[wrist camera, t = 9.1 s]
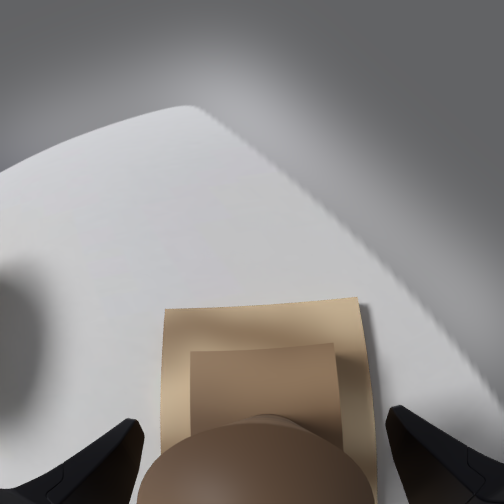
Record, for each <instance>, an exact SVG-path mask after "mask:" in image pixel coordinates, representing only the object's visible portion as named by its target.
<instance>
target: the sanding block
mask: <svg viewBox="0 0 504 504" xmlns="http://www.w3.org/2000/svg"><path fill="white" fill-rule="evenodd" d="M190 429H191V436H190V437H188V438H186V439H184V440H182V441H180V442H178V443H177V444H175V445H173V446H172V447H171V448H169V449H168V450H167V451H165V452H164V453H163V454H162V455H161V456H160V457H159V458H158V459H157V460H156V461H155V462H154V463H153V464H152V465H151V467H150V468H149V470H148V471H147V472H146V474H145V476H144V478H143V480H142V482H141V485H140V489H139V492H138V498H137V504H375V500H374V496H373V492H372V488H371V486H370V484H369V482H368V479H367V477H366V476H365V474H364V473H363V471H362V470H361V468H360V467H359V466H358V465H357V464H356V463H355V462H354V461H353V459H352V458H351V457H349V456H348V455H347V454H346V453H344V450H343V433H342V419H341V407H340V396H339V386H338V376H337V367H336V358H335V350H334V342H333V343H325V344H316V345H306V346H296V347H284V348H270V349H254V350H233V351H190Z"/></svg>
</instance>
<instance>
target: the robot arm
mask: <svg viewBox="0 0 504 504" xmlns="http://www.w3.org/2000/svg"><path fill="white" fill-rule="evenodd" d="M385 426H386V431H387V435H388V439H389V443H390V447H391V452H392V456H393V460H394V463H395V466H396V468H397V471H398V474H399V476H400V479H401V482H402V485H403V488H404V490H405V493H406V496H407V499H408V502H409V504H504V464H503V463H501V462H498V461H496V460H494V459H491V458H489V457H487V456H485V455H483V454H481V453H479V452H477V451H475V450H474V449H472V448H470V447H467V445H465V444H463V443H462V442H460V441H458V440H457V439H455V438H453V437H452V436H450V435H448V434H447V433H445V432H443V431H442V430H440V429H438V428H437V427H435V426H434V425H432V424H430V423H429V422H427V421H426V420H424V419H422V418H421V417H419V416H418V415H416V414H415V413H413V412H411V411H410V410H408V409H407V408H405V407H404V406H402V405H398V406H394V407H391V408H390V410H389V413H388V416H387V419H386V423H385ZM144 438H145V437H144V432H143V430H142V428H141V426H140V424H139V422H138V421H137V420H136V419H130V418H127V419H125V420H124V421H122V422H121V423H119V424H118V425H117V426H115V427H114V428H113V429H111V430H110V431H108V432H107V433H106V434H104V435H103V436H101V437H100V438H99V439H97V440H96V441H94V442H93V443H91V444H90V445H89V446H87V447H86V448H84V449H83V450H81V451H80V452H78V453H77V454H75V455H74V456H72V457H71V458H69V459H68V460H66V461H65V462H64V463H62V464H60V465H59V466H57V467H56V468H54V469H52V470H51V471H49V472H47V473H45V474H44V475H42V476H40V477H38V478H36V479H33V480H31V481H29V482H27V483H25V484H23V485H20V486H18V487H15V488H11V489H0V504H129V502H130V498H131V495H132V492H133V488H134V485H135V482H136V478H137V475H138V471H139V467H140V461H141V455H142V450H143V444H144Z"/></svg>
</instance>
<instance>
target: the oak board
mask: <svg viewBox="0 0 504 504" xmlns="http://www.w3.org/2000/svg"><path fill="white" fill-rule="evenodd" d="M333 342H334V350H335V358H336V367H337V376H338V386H339V396H340V407H341V419H342V433H343V450H344V453H346V454H347V455H348V456H349V457H351V458H352V459H353V461H354V462H355V463H356V464H357V465H358V466H359V467H360V468H361V470H362V471H363V473H364V474H365V476H366V477H367V479H368V482H369V484H370V486H371V488H372V492H373V496H374V500H375V504H377V453H376V434H375V421H374V409H373V398H372V389H371V380H370V372H369V365H368V357H367V351H366V344H365V338H364V331H363V325H362V320H361V314H360V309H359V303H358V298H357V297H351V298H342V299H332V300H321V301H310V302H298V303H285V304H271V305H256V306H238V307H217V308H189V309H165V317H164V331H163V347H162V367H161V410H160V424H161V455H162V454H163V453H164V452H165V451H167V450H168V449H169V448H171V447H172V446H173V445H175V444H177V443H178V442H180V441H182V440H184V439H186V438H188V437H190V436H191V429H190V351H233V350H254V349H270V348H284V347H296V346H306V345H316V344H325V343H333Z"/></svg>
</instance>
